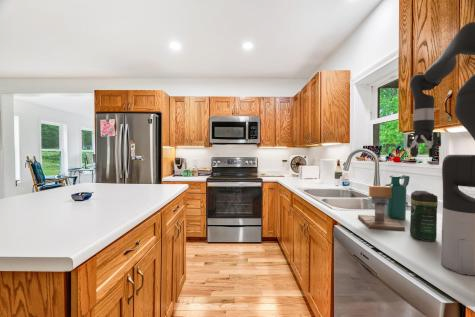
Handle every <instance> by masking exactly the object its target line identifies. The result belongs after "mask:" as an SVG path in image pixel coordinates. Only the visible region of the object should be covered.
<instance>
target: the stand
mask: <svg viewBox="0 0 475 317" xmlns="http://www.w3.org/2000/svg"><path fill="white" fill-rule="evenodd" d="M357 218H358V220H360V221H361V222H362V223H363V224H364V225H365V226H366V227H367V228H368V229H374V230H385V231H386V230H390V231H406V230H405V229H406V227H405V226H404V225H402V224H401V223H399V222H397V221H396V220H395V219H391V218H390V217H387V216H385V205H380V204H374V215H365V214H358V215H357Z"/></svg>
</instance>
